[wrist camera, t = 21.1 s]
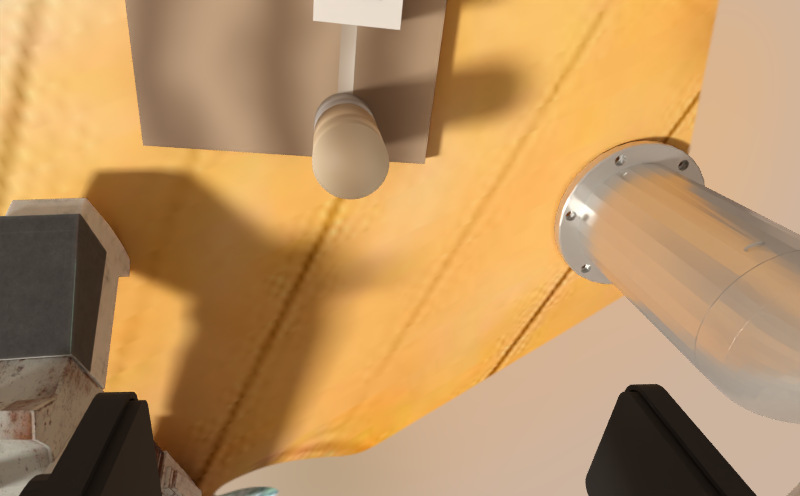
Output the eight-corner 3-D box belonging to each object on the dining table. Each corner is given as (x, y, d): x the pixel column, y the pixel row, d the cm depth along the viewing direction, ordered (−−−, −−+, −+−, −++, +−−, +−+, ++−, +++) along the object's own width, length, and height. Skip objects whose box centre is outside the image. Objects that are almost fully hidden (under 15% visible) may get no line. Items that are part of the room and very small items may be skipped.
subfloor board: (458, -119, 29) (463, -123, 28) (421, 159, 37) (424, 164, 36) (111, -178, 26) (102, -185, 25) (149, 140, 34) (143, 145, 32)
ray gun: (112, 182, 32) (-18, 531, 19) (218, 393, 56) (191, 609, 43) (-10, 186, 31) (-232, 554, 18) (151, 399, 55) (105, 620, 42)
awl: (376, 95, 33) (392, 128, 25) (371, 153, 35) (385, 201, 27) (315, 90, 32) (313, 121, 24) (313, 149, 34) (311, 197, 26)
